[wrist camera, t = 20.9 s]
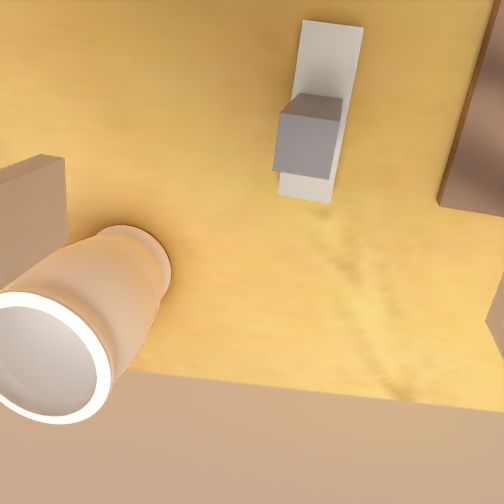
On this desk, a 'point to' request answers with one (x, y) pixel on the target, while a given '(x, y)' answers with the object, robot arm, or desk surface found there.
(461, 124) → the board
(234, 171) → the desk surface
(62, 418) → the jar
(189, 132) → the desk surface
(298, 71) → the paddle
